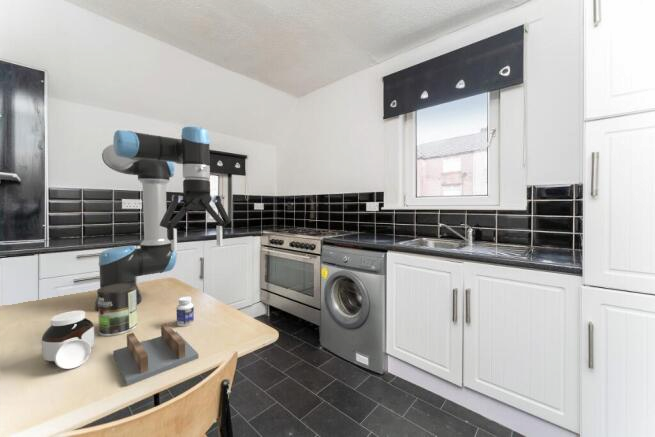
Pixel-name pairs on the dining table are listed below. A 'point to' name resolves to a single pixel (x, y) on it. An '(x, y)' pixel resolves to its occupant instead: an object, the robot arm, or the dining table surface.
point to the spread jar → (68, 340)
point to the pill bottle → (185, 312)
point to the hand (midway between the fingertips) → (198, 248)
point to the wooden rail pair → (141, 356)
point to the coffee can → (117, 309)
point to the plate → (151, 359)
